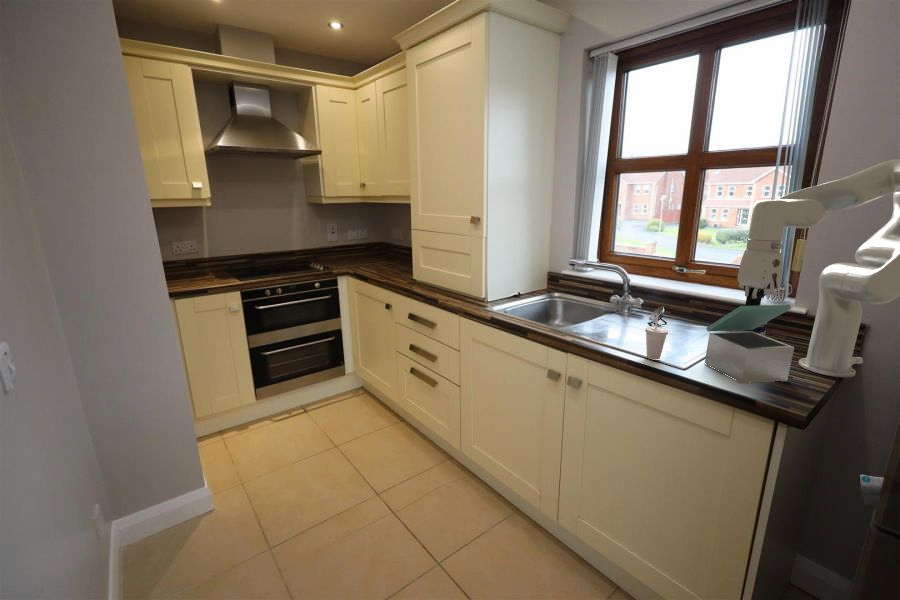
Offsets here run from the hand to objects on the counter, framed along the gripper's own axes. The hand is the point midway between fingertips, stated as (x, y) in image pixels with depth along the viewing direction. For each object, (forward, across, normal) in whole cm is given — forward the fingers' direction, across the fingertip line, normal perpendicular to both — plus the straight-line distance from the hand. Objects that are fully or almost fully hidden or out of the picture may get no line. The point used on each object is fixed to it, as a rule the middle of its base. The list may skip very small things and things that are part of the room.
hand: (751, 311), depth 117 cm
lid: (+3, +1, 0) cm, 3 cm away
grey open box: (+18, -1, 0) cm, 18 cm away
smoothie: (+18, +12, +20) cm, 30 cm away
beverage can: (+18, +12, -14) cm, 26 cm away
